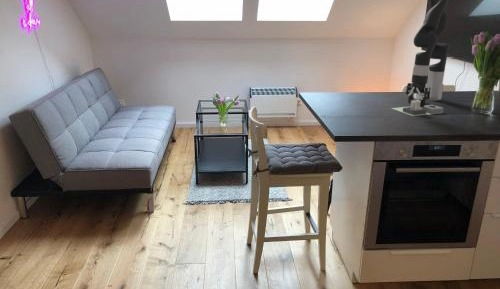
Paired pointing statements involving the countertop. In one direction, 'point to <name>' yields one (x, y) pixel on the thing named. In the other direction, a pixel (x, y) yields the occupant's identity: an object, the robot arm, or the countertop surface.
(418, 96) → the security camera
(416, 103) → the plug
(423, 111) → the header socket
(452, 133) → the countertop surface
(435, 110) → the circuit board
